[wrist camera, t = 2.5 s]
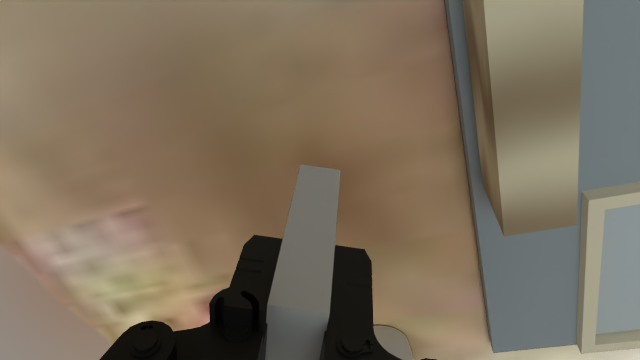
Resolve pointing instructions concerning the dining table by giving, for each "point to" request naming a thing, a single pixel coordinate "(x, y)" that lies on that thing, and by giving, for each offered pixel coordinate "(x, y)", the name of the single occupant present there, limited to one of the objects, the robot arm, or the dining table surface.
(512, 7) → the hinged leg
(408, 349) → the soft serve ice cream cone
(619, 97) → the jig board
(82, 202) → the dining table surface
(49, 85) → the dining table surface
